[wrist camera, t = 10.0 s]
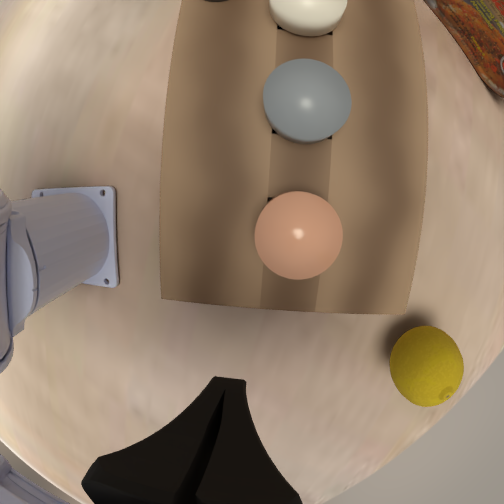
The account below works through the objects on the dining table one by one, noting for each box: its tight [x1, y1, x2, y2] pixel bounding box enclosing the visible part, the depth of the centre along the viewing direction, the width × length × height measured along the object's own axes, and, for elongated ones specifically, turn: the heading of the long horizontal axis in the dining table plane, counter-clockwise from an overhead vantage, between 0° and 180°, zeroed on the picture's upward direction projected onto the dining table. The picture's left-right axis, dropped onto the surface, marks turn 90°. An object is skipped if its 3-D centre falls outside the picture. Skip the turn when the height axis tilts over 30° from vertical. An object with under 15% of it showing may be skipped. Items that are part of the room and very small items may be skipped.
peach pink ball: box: [254, 191, 343, 280], centre depth 17 cm, size 4×4×5 cm
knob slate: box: [263, 59, 352, 144], centre depth 15 cm, size 4×4×5 cm
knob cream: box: [269, 0, 347, 36], centre depth 13 cm, size 4×4×5 cm
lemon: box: [390, 326, 464, 407], centre depth 18 cm, size 6×6×8 cm
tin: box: [424, 0, 504, 98], centre depth 11 cm, size 15×3×8 cm, turn 34°
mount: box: [160, 0, 428, 314], centre depth 16 cm, size 16×24×5 cm, turn 177°
